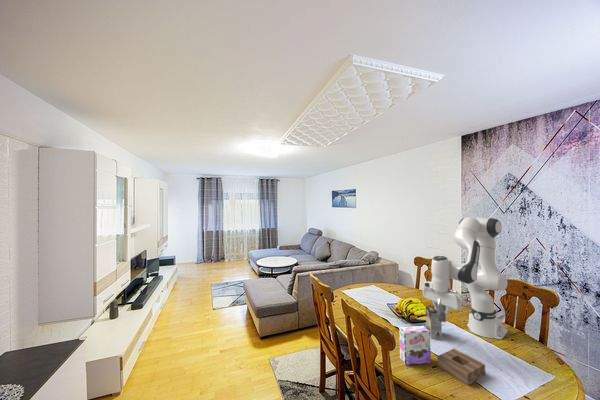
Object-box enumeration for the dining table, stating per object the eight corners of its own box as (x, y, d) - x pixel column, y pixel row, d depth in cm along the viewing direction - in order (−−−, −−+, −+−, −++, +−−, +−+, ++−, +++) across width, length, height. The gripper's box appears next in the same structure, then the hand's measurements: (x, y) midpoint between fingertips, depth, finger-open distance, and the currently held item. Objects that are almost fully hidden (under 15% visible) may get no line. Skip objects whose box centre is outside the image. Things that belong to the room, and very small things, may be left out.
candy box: (405, 365, 117) (404, 332, 118) (399, 358, 123) (398, 326, 124) (431, 363, 118) (430, 330, 119) (424, 356, 124) (423, 325, 125)
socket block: (454, 358, 122) (454, 348, 122) (485, 375, 110) (485, 364, 110) (437, 366, 116) (437, 356, 116) (467, 385, 104) (467, 374, 104)
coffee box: (426, 330, 149) (425, 305, 150) (436, 331, 148) (436, 306, 148) (431, 338, 140) (430, 311, 141) (442, 339, 139) (441, 312, 139)
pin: (440, 317, 131) (440, 296, 131) (447, 321, 127) (447, 298, 128) (435, 319, 129) (435, 297, 130) (443, 322, 126) (442, 300, 126)
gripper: (464, 291, 121) (465, 318, 120) (428, 280, 139) (428, 303, 139) (456, 293, 118) (457, 321, 118) (420, 281, 137) (421, 305, 136)
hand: (441, 311), depth 129 cm, fingers closed on pin, 4 cm apart
